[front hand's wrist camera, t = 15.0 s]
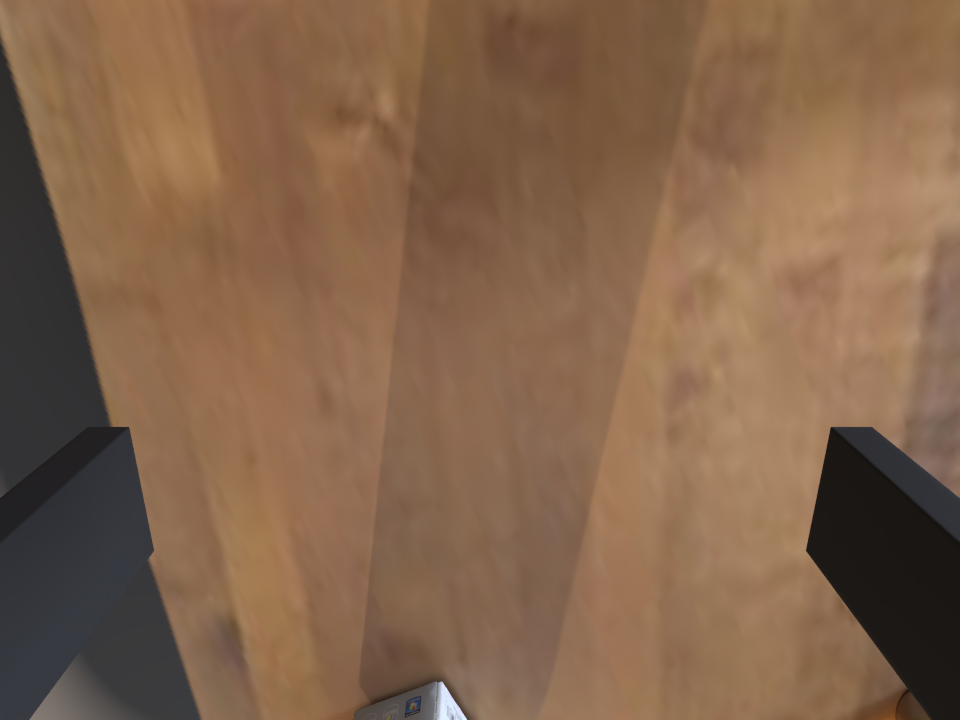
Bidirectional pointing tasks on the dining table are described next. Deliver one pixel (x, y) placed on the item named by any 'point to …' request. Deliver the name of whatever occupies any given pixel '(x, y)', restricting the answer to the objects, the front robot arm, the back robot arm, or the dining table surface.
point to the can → (910, 709)
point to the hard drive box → (415, 706)
